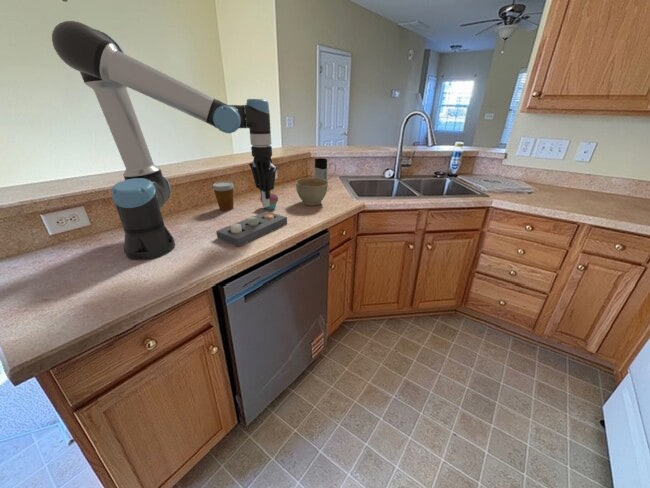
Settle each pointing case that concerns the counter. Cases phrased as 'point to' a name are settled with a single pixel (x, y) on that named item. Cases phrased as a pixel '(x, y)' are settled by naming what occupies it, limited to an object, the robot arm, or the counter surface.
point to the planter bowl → (311, 190)
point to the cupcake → (272, 201)
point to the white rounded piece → (236, 228)
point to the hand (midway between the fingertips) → (266, 205)
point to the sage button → (253, 221)
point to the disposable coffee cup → (224, 195)
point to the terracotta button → (268, 216)
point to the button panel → (251, 229)
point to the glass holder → (322, 168)
